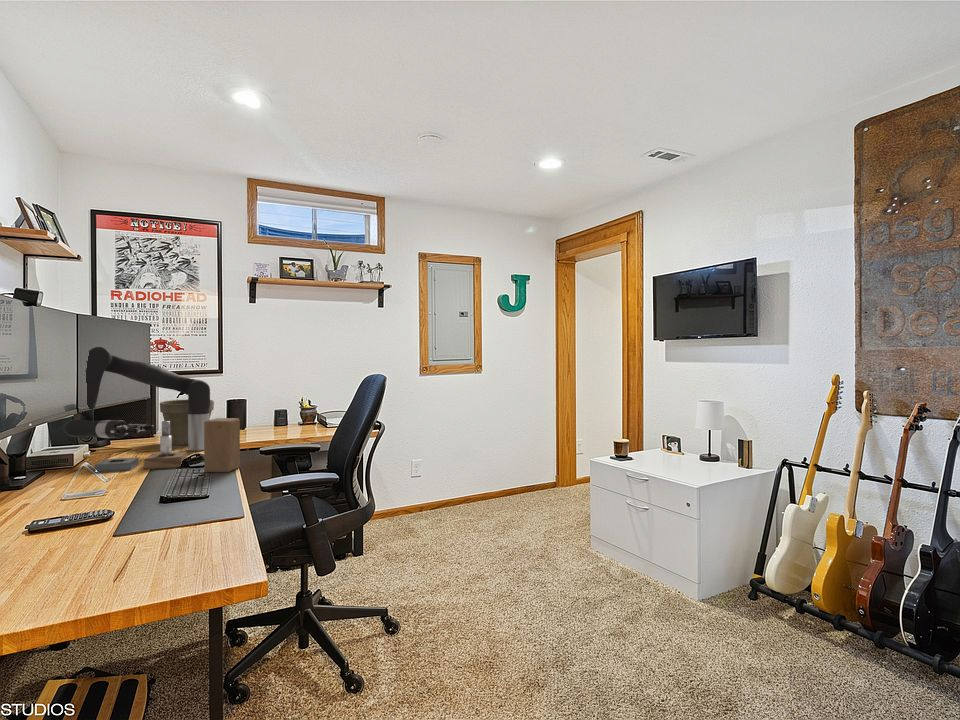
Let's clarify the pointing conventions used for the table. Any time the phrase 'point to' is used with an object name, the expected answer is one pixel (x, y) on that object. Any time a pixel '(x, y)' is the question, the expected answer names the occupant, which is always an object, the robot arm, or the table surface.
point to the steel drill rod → (165, 440)
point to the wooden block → (221, 444)
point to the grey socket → (117, 464)
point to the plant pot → (178, 419)
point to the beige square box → (164, 460)
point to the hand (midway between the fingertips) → (145, 429)
